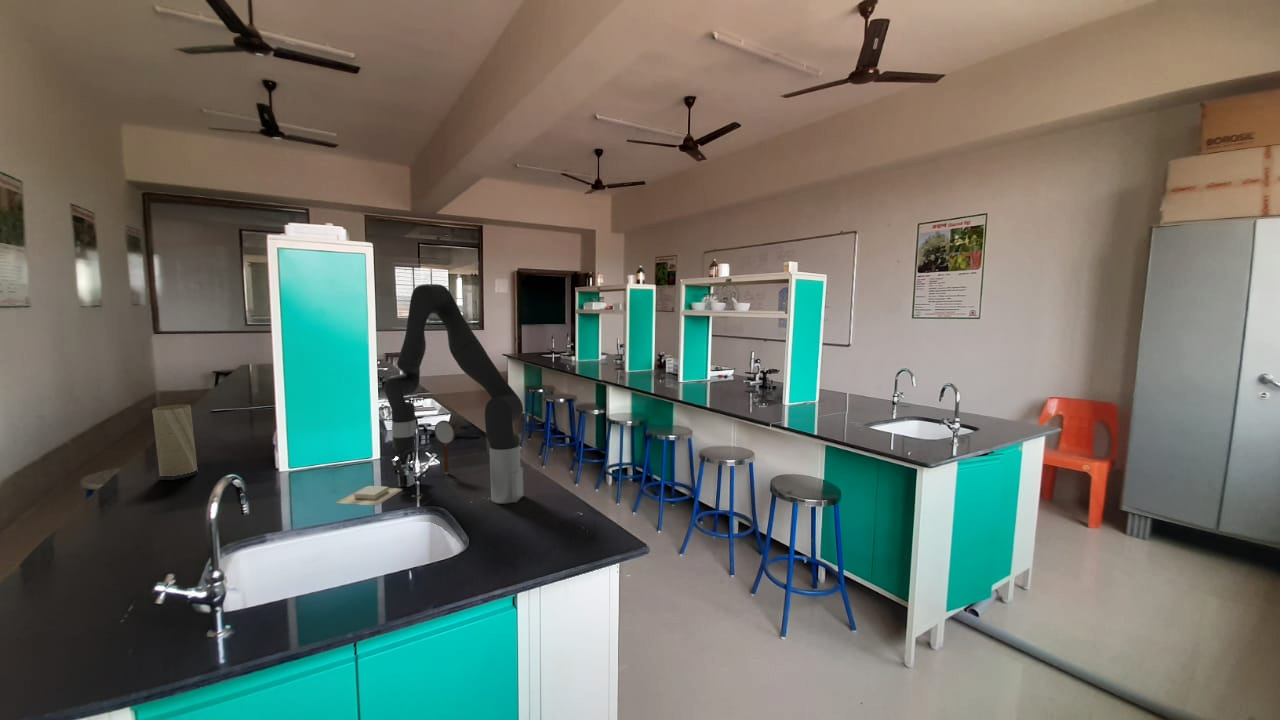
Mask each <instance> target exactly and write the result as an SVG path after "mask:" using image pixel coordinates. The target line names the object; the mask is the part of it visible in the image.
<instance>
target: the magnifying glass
mask: <svg viewBox="0 0 1280 720" xmlns="http://www.w3.org/2000/svg"><path fill="white" fill-rule="evenodd" d="M456 434H457V433H456V428H455V426H454V425H453V424H452V423H451V422H450V421H448V420H445V419H444V420H440V421H438V422H437V423H436V425H435V427H434V436H435V438H436V440H437V441H438V443H440V444H443V457H444V473H445V475H448V474H449V455H448V453H449V450H448V445H450V444H451V443H453V442H454V440H455V438H456Z"/></svg>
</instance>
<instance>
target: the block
mask: <svg viewBox="0 0 1280 720" xmlns="http://www.w3.org/2000/svg"><path fill="white" fill-rule="evenodd" d="M406 475H407V485H406V486H405V487H411V486H413V485H415V484H416V483H415V478H414V475H413V471H408V470H407V474H406ZM397 479H398V487H402V486H401V485H400V480H399V475H397Z"/></svg>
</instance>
